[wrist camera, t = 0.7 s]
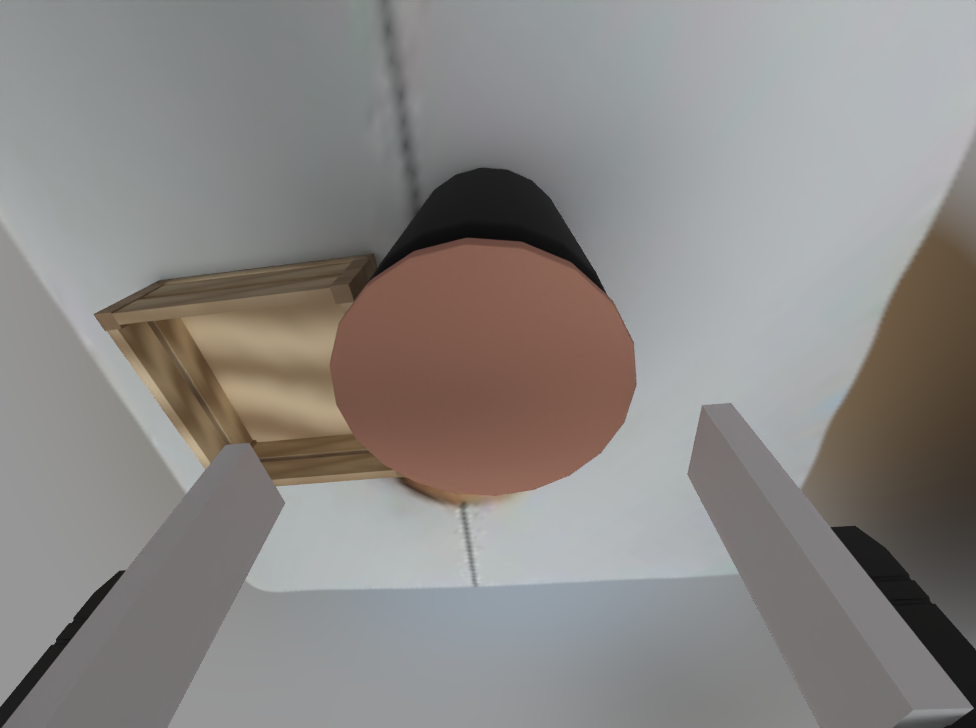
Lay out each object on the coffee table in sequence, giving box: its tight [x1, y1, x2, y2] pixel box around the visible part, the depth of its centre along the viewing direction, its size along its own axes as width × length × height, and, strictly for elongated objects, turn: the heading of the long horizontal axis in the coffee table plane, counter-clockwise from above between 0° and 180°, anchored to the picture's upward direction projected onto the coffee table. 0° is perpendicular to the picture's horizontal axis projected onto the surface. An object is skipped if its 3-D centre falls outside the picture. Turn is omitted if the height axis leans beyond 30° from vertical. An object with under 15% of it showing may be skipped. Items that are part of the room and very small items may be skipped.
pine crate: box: [94, 254, 406, 486], centre depth 32 cm, size 17×17×6 cm
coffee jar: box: [330, 168, 636, 496], centre depth 22 cm, size 11×11×18 cm
